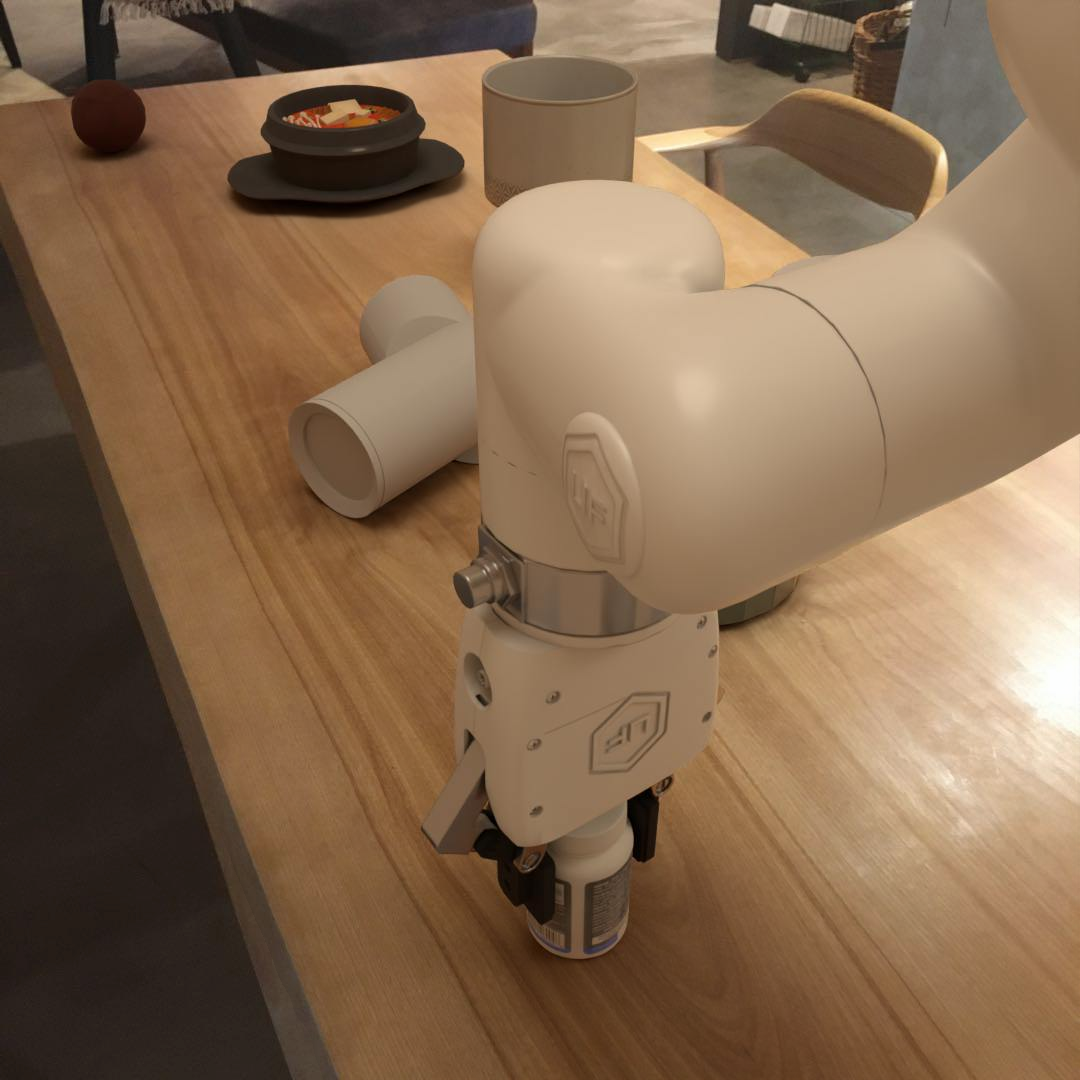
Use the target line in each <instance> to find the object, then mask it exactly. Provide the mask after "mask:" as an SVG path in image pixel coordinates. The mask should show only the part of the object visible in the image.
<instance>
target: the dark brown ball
mask: <svg viewBox="0 0 1080 1080" xmlns="http://www.w3.org/2000/svg"><path fill="white" fill-rule="evenodd" d="M146 115H147V114H146V106H145V105H144V102H143V100H142V98H141V96H140V95H139V94H138V93H137V92H136V91H135V90H134V89H133V87H131V86H129V85H127V84H125V82H122V81H119V80H114V79H110V78H104V79H93V80H91V81H89V82H88V83H86V84H84V85H83V86H82V87H80V88H79V90H78V91H77V92H76V94H75V95H74V97H73V99H72V100H71V107H70V117H71V122H72V127H73V131H74V133H75V134H76V136H77V138H78V139H79V140H80V141H81V142H82V143H83V144H84V145H86V146H87V147H88V148H90V149H92V150H95V151H100V152H104V153H117V152H120V151H122V150H125V149H127V148H129V147H132V146H133V145H134V144H136V143H137V142H138V141H139V139H140V138H141V136H142V134H143V133H144V130H145V127H146V122H147V116H146Z"/></svg>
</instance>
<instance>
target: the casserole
mask: <svg viewBox="0 0 1080 1080" xmlns="http://www.w3.org/2000/svg"><path fill="white" fill-rule="evenodd" d="M426 125H427V123H426V120H425V118H424V117H423V116H422V115H421V114H419V111H418V109H417V107H416V104H415V102H414V100H413V99H412V98H411V97H410V96H409V95H407V94H405V93H404V92H401V91H398V90H396V89H392V88H388V87H383V86H375V85H366V84H335V85H323V86H315V87H310V88H305V89H301V90H296V91H294V92H290V93H288V94H285V95H283V96H281V97H279V98H277V99H276V100H274V101H272V103H271V104H269V107H268V109H267V113H266V118H265V121H264V122H263V123H262V125H261V128H260V130H259V131H260V136H261V137H262V139H263V140H264V142H266V143H267V144H268V145H269V149H270V151H269V152H265V153H261V154H255V155H252V156H248V157H243V158H242V159H239V160H238V161H237V162H236V163H234V165H232V166H231V167H230V169H229V170H228V173H227V182H228V184H229V186H230V188H232V189H233V190H235V191H236V192H237V193H238V194H241V195H243V196H245V197H247V198H250V199H255V200H262V201H263V200H265V201H266V200H272V201H274V200H275V201H277V200H278V201H282V200H284V201H286V200H287V201H288V200H289V201H290V200H291V201H305V202H315V203H316V202H317V203H324V204H335V205H344V204H345V205H347V204H348V205H349V204H360V203H361V204H362V203H367V202H373V201H377V200H381V199H384V198H389V197H392V196H397V195H399V194H403V193H406V192H407V191H411V190H414V189H416V188H419V187H421V186H424V185H428V184H434V183H438V182H442V181H446V180H448V179H452V178H453V177H456V176H457V175H459V174H461V173H462V171H463V170H464V168H465V161H466V160H465V159H464V158H465V157H464V156H463V154H462V153H461V152H459V151H458V150H457V149H456V148H454V146H451V145H449V144H447V143H446V142H443V141H441V140H437V139H435V138H434V139H433V138H423V137H421V135H422V134H423V133H424V131H425V130H426Z"/></svg>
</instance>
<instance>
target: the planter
mask: <svg viewBox="0 0 1080 1080" xmlns="http://www.w3.org/2000/svg"><path fill="white" fill-rule="evenodd" d="M638 87H639V79H638V75H637V73H636V72H635V71H634V70H633V69H632V68H630V67H628V66H627V65H625V64H622V63H619V62H616V61H613V60H610V59H606V58H601V57H596V56H587V55H578V54H537V55H528V56H521V57H515V58H511V59H507V60H504V61H503V60H502V61H500V62H498V63H495V64H493V65H491V66H488V68H486V69H485V70H484V71H483V73H482V74H481V109H482V110H481V111H482V114H481V115H482V147H483V148H482V150H483V151H482V152H483V180H484V181H483V187H484V188H483V189H484V197H485V198H486V200H487V201H488V202H489V203H490V204H491V205H492V206H494V207H495V208H496V209H497V208H498V207H500V206H501V205H502V204H504V203H505V202H507V201H508V200H509V199H511V198H513V197H514V196H516V195H518V194H520V193H522V192H525V191H528V190H531V189H534V188H537V187H541V186H545V185H549V184H555V183H561V182H568V181H580V180H615V181H626V182H632V183H634V180H633V179H634V162H635V161H634V160H635V143H636V142H635V141H636V140H635V139H636V126H637V123H636V121H637V108H638V107H637V106H638V104H637V103H638Z"/></svg>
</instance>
